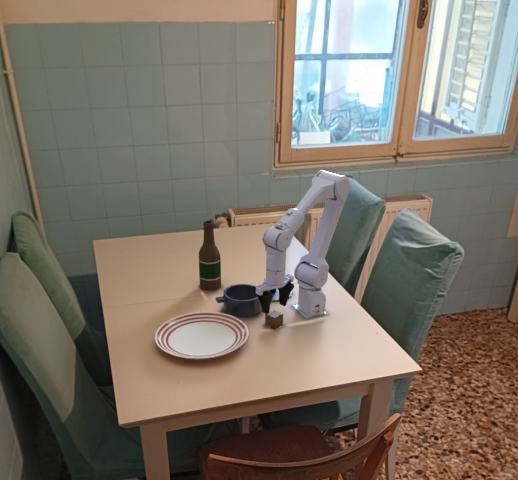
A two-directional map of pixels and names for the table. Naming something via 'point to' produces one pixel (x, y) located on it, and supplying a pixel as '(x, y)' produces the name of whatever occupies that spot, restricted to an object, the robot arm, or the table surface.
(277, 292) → the lid
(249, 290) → the pot
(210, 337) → the dinner plate
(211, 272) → the beer bottle
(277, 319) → the block
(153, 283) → the table surface
